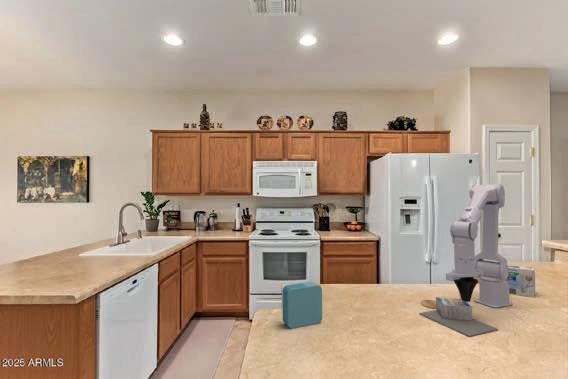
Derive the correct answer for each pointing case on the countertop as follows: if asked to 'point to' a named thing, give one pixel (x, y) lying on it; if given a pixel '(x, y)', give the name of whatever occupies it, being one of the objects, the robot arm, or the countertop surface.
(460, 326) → the mat
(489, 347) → the countertop surface
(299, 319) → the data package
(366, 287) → the countertop surface
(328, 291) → the countertop surface
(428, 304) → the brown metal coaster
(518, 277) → the light bulb box
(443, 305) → the medicine box
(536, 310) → the countertop surface
